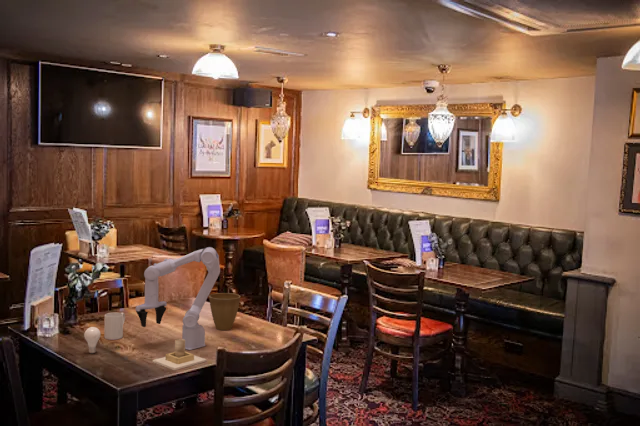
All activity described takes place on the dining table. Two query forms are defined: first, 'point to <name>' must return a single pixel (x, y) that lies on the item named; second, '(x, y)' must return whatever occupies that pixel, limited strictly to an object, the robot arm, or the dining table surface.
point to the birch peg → (179, 348)
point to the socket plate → (179, 361)
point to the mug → (114, 325)
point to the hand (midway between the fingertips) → (151, 325)
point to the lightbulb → (92, 338)
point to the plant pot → (224, 309)
